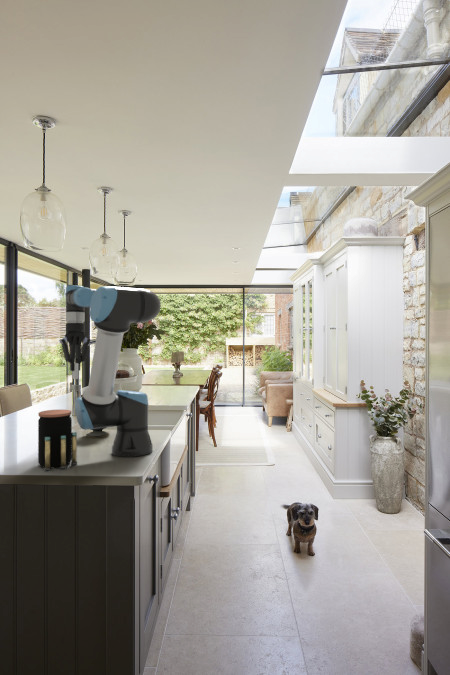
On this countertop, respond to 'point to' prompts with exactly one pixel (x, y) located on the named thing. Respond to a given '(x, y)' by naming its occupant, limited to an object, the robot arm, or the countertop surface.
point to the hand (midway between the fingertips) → (75, 378)
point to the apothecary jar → (97, 433)
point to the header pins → (63, 452)
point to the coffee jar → (54, 436)
